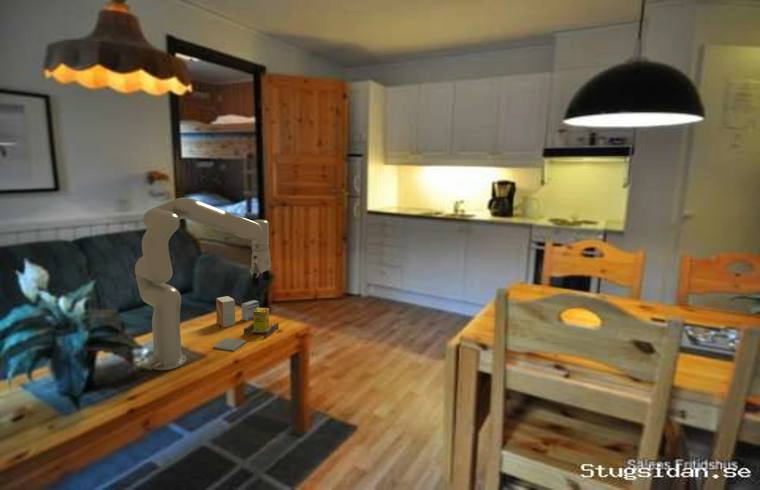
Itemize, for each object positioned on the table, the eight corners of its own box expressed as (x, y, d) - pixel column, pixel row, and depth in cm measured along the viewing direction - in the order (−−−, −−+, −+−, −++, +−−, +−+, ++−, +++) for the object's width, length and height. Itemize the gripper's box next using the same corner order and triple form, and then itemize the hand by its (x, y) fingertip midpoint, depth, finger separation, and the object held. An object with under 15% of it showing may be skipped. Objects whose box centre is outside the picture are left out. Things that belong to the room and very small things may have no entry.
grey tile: (234, 351, 175) (234, 349, 175) (213, 348, 177) (213, 346, 177) (246, 342, 184) (246, 340, 184) (226, 339, 187) (226, 337, 186)
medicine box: (247, 321, 209) (247, 305, 207) (241, 319, 211) (241, 303, 209) (259, 317, 216) (259, 301, 214) (253, 315, 218) (253, 299, 216)
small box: (216, 323, 205) (215, 297, 203) (228, 320, 209) (228, 295, 207) (223, 328, 199) (222, 302, 197) (235, 325, 204) (235, 299, 201)
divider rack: (266, 337, 190) (266, 331, 189) (243, 334, 192) (243, 328, 192) (278, 328, 201) (278, 322, 201) (257, 325, 204) (257, 319, 203)
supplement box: (265, 334, 194) (265, 312, 192) (253, 333, 194) (252, 311, 192) (269, 329, 200) (269, 308, 198) (257, 329, 200) (256, 307, 198)
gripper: (258, 251, 180) (258, 288, 183) (276, 244, 197) (277, 279, 200) (242, 249, 182) (243, 287, 185) (262, 243, 199) (263, 277, 202)
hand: (261, 282), depth 193 cm, fingers open, 9 cm apart
